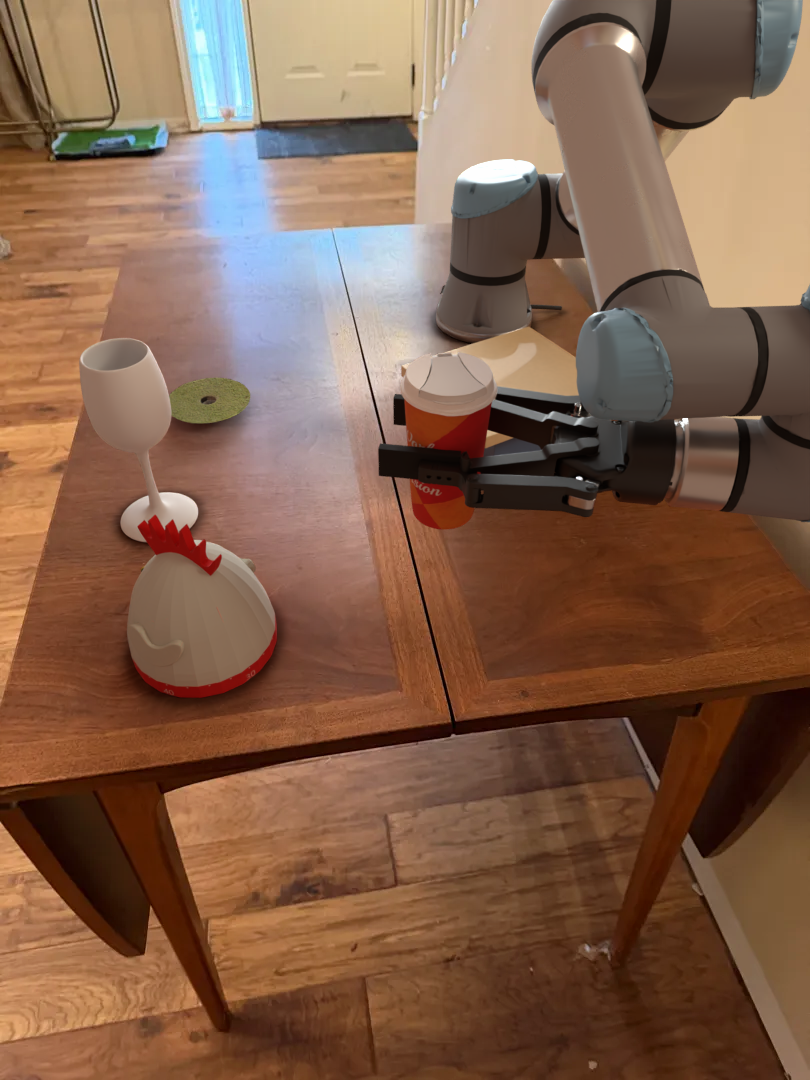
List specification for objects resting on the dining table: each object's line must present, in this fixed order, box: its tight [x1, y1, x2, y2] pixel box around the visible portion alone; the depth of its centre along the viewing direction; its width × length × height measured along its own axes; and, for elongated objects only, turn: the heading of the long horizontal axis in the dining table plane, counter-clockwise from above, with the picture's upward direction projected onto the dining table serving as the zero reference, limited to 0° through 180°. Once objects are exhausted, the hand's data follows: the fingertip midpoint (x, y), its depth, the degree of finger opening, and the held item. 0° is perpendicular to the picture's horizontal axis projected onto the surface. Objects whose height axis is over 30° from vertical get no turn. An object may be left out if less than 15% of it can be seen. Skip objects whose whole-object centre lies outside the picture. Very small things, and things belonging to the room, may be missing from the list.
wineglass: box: [78, 337, 199, 543], centre depth 82 cm, size 9×9×21 cm
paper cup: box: [399, 352, 498, 531], centre depth 65 cm, size 8×8×14 cm
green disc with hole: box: [169, 377, 252, 424], centre depth 105 cm, size 11×11×2 cm
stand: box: [400, 327, 579, 457], centre depth 98 cm, size 20×18×10 cm
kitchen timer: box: [126, 515, 278, 699], centre depth 71 cm, size 14×14×15 cm
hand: (387, 433), depth 65 cm, fingers closed on paper cup, 7 cm apart
